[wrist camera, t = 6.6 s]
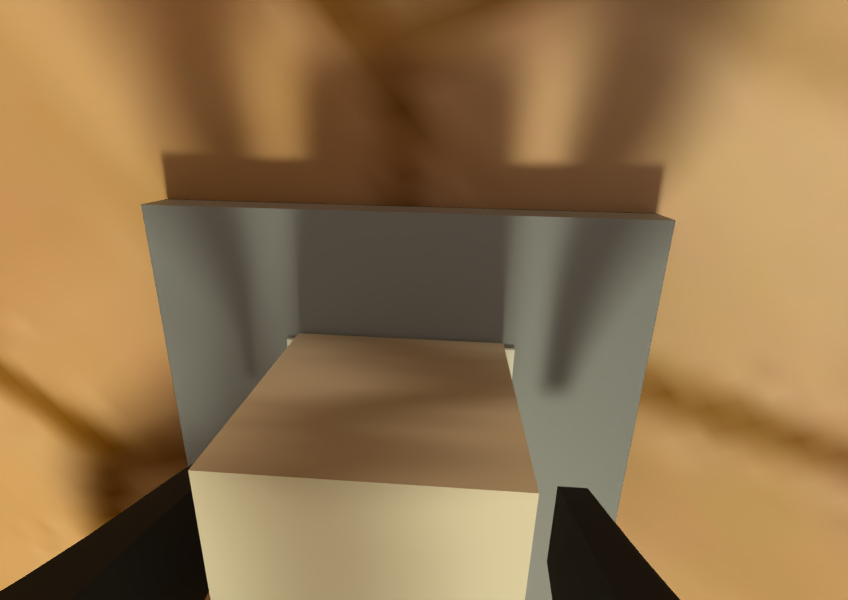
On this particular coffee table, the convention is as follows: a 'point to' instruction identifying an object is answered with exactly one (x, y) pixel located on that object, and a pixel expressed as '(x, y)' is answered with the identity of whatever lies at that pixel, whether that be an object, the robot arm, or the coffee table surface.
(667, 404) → the coffee table surface
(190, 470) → the birch block
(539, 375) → the baseplate
